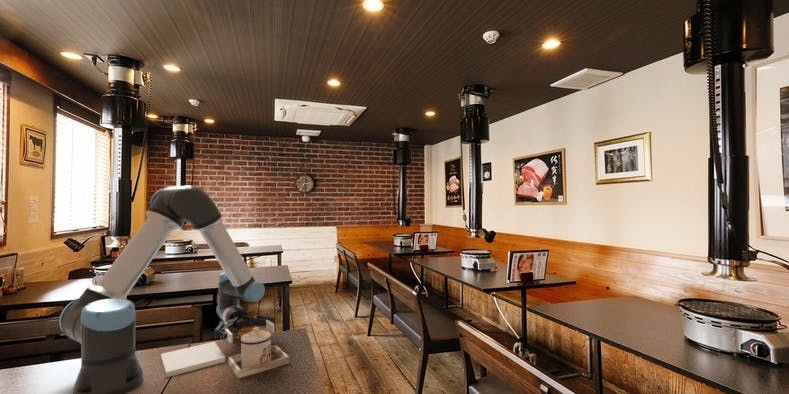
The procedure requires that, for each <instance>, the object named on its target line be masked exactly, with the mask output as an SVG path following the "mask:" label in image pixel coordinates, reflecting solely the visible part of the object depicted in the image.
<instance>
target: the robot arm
mask: <svg viewBox="0 0 789 394" xmlns="http://www.w3.org/2000/svg"><path fill="white" fill-rule="evenodd" d="M145 215H146V219H145V221H144V222H143V224H141V226H140V227H139V228H138V230H137V232H136V233H135V234H134V235H133V237H132V238H131V239H130V241H128V243H127V244H126V246H125V247H124V248H123V249H122V251H121V252H120V253H119V255H118V256H117V257H116V258H115V260H114V261H113V263H112V264H111V265H110V266H109V268H108V269H107V270H106V272H105V273H104V274H103V276H102V277H101V278H100V280H99V281H98V282H97V284H95V285H92V286H88V287H86V289H85V290H84V291H83V292H82V294H81V295H80V296H79V298H76V299H74V300H72V301H70V302H69V303H68V304H67V305H66V306H65V307H64V308H63V309H62V311H61V313H60V315H59V319H58V325H59V327H60V330H61V331H62V333H63V334H64V335H65V336H66V337H67V338H69V339H70V340H74V341H75V342H77V343H79V344H80V345H81V347H80V348H81V349H80V350H81V353H80V354H81V356H80V357H81V358H80V359H81V365H80V369H79V372H78V375H77V378H76V380H75V382H74V385H73V387H72V394H127V393H130V392H131V391H133V390H135V389H137V388H138V387H139V386H140V385H141V384H142V383H143V380H144V376H143V375H144V373H143V368H142V367H141V364H140V362H139V359H138V358H137V354H136V317H137V313H136V310H135V309H136V308H135V303H133V301H131V300H129V299H127V296H128V294H129V293H130V292H131V290H132V289H133V287H134V286H135V285H136V283H137V282H138V280H139V279H140V277H141V276H142V275H143V273H144V272H145V271H146V269H147V268H148V266H149V265H150V263H151V262H152V261H153V259H154V258H155V257H156V255H157V254H158V252H159V250H160V249H161V248H162V246H163V245H164V243H165V242H166V241H167V239H168V238H169V237H170V236H171V233H172V232H174V231H178V230H180V229H181V228H182V226H183V225H184V223H185V222H186V221H187V222H188V223H189V224H190V225H191V226H192V228H193V230H195V231H198V232H199V233H200V234H201V237H203V239H204V241H205V242H206V244H207V246H208V247H209V249H210V251H211V252H212V254H213V255H214V257H215V258H216V260H217V262H218V264H219V265H220V268H221V269H222V270H223V272H221V273H219V275H218V282H217V284H218V305H217V306H216V314H217V316H218V318H220V321H219V324H218V326H217V327H216V328H215V329H214V335H213V336H214V338H215V339H217V338H219V337H220V340H224V339H225V340H226V341H228V343H229V344H232V343H234V342H233V339H234V338H233V337H234V336H233V334H234V333H232V331H239V330H241V329H243V328H246V327H249V328H252V327H253V326H255V327H265V328H266V329H267V330H268V332H270V333H271V334H273V333H275V325H276V317H274V316H267V315H263V314H259V313H255V315H254V316H253V315H252V316H251V315H249V314H248V312H247V311H246V310H245V309H244V308H243V307H241V306H240V300H241V301H246V302H252V303H255V302H259V301H260V300H261V299H262V298H263V296H264V295H265V291H266V290H265V285H264V284H263V283H262V282H260V281H258V280H256V279H255V278H254V276H253V275H252V274H253V273H252V272H251V271H250V269H249V268H248V265H247V264H246V262H245V260H244V259H243V257H242V255H241V253H240V251H239V250H238V248H237V245H235V243H234V240H233V239H232V237H231V236H230V234H229V232H228V230H227V228H226V227H225V225H224V223H223V222H222V218H223V215H222V213H221V211H220V210H219V207H218V206H217V205H216V203H215V202H214V201H213V199H212V197H210V195H209V194H208V193H206V191H204V190H203V189H202V188H200V187H197V186H196V185H190V184H189V185H168V186H165V187H162V188H160V189H159V190H156V192H154V194H153V195H152V196H151V198H150V201H149V207H148V209H147V210H146V211H145Z"/></svg>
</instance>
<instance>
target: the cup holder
mask: <svg viewBox="0 0 789 394" xmlns="http://www.w3.org/2000/svg"><path fill="white" fill-rule="evenodd" d="M272 353H275V354H276V355H277V357H279V358H276V359H273V360H271V361H269V362H266V363H262V364H259V365H255V366H252V367H248V368H245V369H242V368H240V367H239V366H238V364H237V363H239V362H241V353H239V354H235V355H231V356H228V357H227V364H228V365H229V367H230V369H231V370H232V371H233V373H234V374H235V376H236V377H237V378H238V379H242V378H245V377H248V376H252V375H255V374H258V373H261V372H265V371H268V370H271V369H275V368H279V367H282V366H284V365H285V366H286V365H288V364H290V356H289V355H288V354H287V353H286V352H284V351H283V349H281V348H280V346H278V345H277V344H273V345H271V354H272Z"/></svg>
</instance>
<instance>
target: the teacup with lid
mask: <svg viewBox="0 0 789 394" xmlns="http://www.w3.org/2000/svg"><path fill="white" fill-rule="evenodd" d="M272 337H273V336H272V332H270V331H269V330H268V331H267V330H264V329H260V326H255V327H253V328H252V330H251V331H249V332H247V333H245V334H243V335H242V336H241V337H240V344H241V346H240V348H241V350H240V351H241V353H240V354H241V361H240V363H241V364H240V365H241V369H245V368H248V367H252V366H255V365H259V364H262V363H266V362H269V361H272V353H271V346H272Z"/></svg>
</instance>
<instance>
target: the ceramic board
mask: <svg viewBox="0 0 789 394" xmlns="http://www.w3.org/2000/svg"><path fill="white" fill-rule="evenodd" d="M160 360H161V364H162V367H163V372H164V374H165V377H166V378H168V377H170V378H171V377H174V376H177V375H181V374H184V373H188V372H189V373H190V372H192V371H196V370H200V369H203V368H206V367H210V366H211V367H212V366H214V365H218V364H222V363H226V355H225V354H224V353H223V352H222V350H221V348H219V346H218V344H217V342H216V341H212V342H207V343H203V344H198V345H193V346H190V347H189V346H188V347H185V348H181V349H180V348H179V349H176V350H172V351H168V352H163V353H160Z"/></svg>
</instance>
